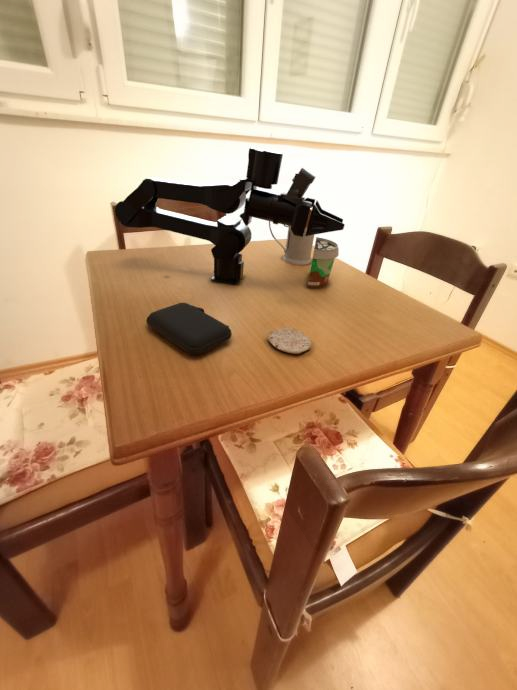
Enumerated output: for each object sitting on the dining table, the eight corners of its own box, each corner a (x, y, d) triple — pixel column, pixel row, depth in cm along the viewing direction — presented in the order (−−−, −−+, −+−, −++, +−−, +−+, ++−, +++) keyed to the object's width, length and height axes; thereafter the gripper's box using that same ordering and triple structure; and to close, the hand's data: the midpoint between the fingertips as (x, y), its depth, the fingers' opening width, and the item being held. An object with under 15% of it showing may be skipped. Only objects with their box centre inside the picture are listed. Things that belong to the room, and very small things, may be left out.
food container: (331, 293, 77) (340, 253, 71) (306, 289, 78) (314, 249, 72) (331, 276, 87) (340, 239, 81) (309, 272, 88) (316, 236, 82)
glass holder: (312, 265, 93) (322, 212, 84) (265, 261, 92) (270, 207, 84) (309, 256, 100) (318, 206, 92) (265, 252, 100) (270, 201, 91)
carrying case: (240, 339, 56) (189, 309, 64) (241, 324, 55) (189, 295, 62) (193, 363, 50) (142, 326, 57) (193, 347, 48) (140, 312, 55)
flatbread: (262, 334, 58) (262, 329, 58) (297, 328, 61) (298, 324, 60) (280, 359, 52) (281, 354, 52) (319, 352, 55) (320, 347, 54)
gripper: (274, 163, 56) (360, 182, 54) (286, 167, 72) (353, 182, 71) (261, 227, 61) (339, 246, 60) (276, 218, 77) (337, 232, 76)
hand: (343, 224), depth 66 cm, fingers open, 9 cm apart
